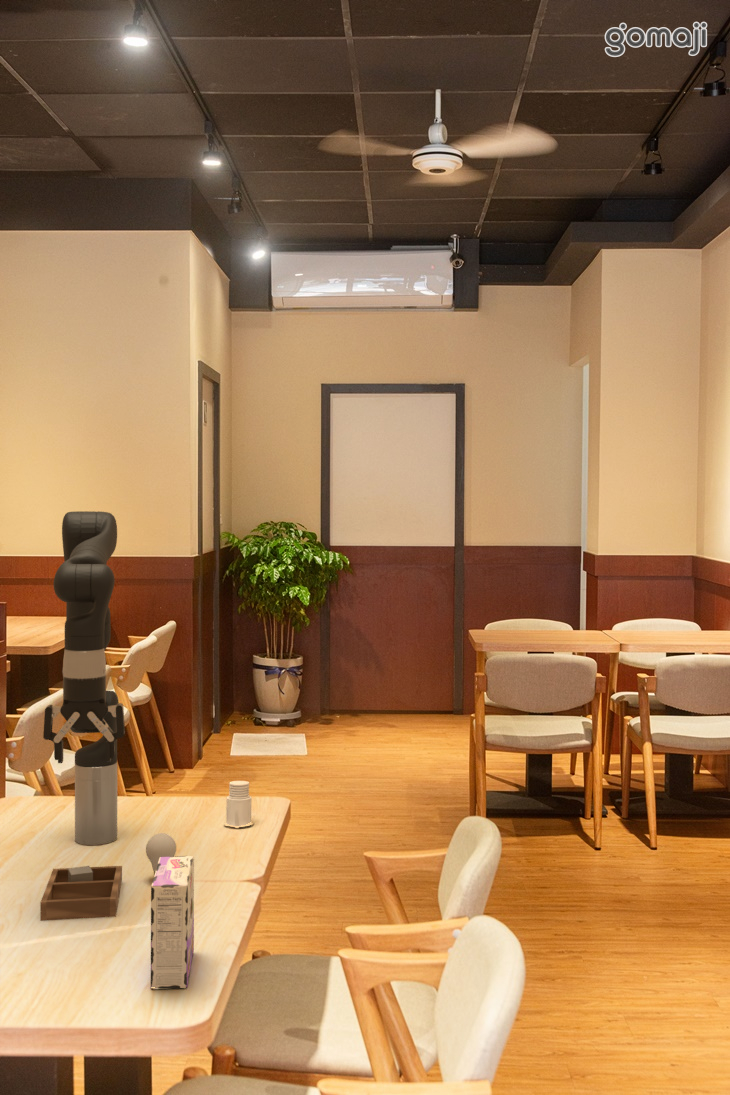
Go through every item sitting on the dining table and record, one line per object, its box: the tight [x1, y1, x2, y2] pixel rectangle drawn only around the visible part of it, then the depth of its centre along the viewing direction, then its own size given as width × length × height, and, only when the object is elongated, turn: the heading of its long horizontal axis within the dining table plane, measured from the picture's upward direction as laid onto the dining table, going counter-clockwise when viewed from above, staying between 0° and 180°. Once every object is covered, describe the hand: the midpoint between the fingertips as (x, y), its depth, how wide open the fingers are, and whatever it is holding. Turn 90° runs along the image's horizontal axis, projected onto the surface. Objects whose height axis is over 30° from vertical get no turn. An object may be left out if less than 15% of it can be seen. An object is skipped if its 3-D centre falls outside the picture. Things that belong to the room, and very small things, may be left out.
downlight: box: [225, 780, 252, 826], centre depth 250 cm, size 8×7×10 cm
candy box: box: [150, 855, 195, 989], centre depth 170 cm, size 14×6×16 cm, turn 5°
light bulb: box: [145, 832, 177, 876], centre depth 209 cm, size 6×6×10 cm
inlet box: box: [39, 865, 123, 921], centre depth 198 cm, size 18×13×4 cm
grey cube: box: [67, 865, 93, 882], centre depth 203 cm, size 4×4×4 cm
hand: (84, 761), depth 194 cm, fingers open, 8 cm apart
